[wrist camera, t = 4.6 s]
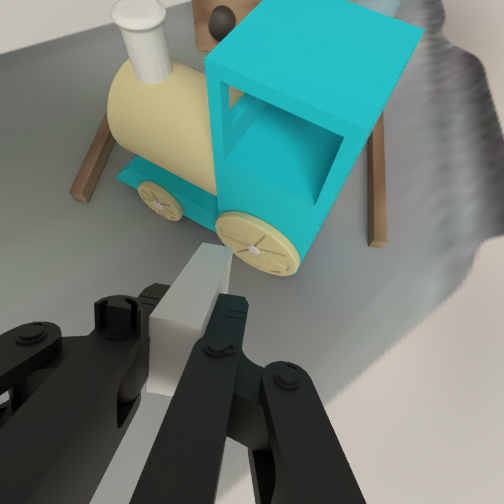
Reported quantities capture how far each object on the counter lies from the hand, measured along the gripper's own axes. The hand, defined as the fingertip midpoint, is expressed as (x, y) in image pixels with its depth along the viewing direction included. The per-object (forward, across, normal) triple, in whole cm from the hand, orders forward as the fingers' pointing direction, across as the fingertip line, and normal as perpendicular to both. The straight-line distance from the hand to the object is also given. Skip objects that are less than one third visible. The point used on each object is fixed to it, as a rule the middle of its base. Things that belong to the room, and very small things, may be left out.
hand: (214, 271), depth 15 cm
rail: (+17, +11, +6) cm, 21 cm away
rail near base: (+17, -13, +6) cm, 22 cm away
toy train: (+13, -2, +1) cm, 13 cm away
